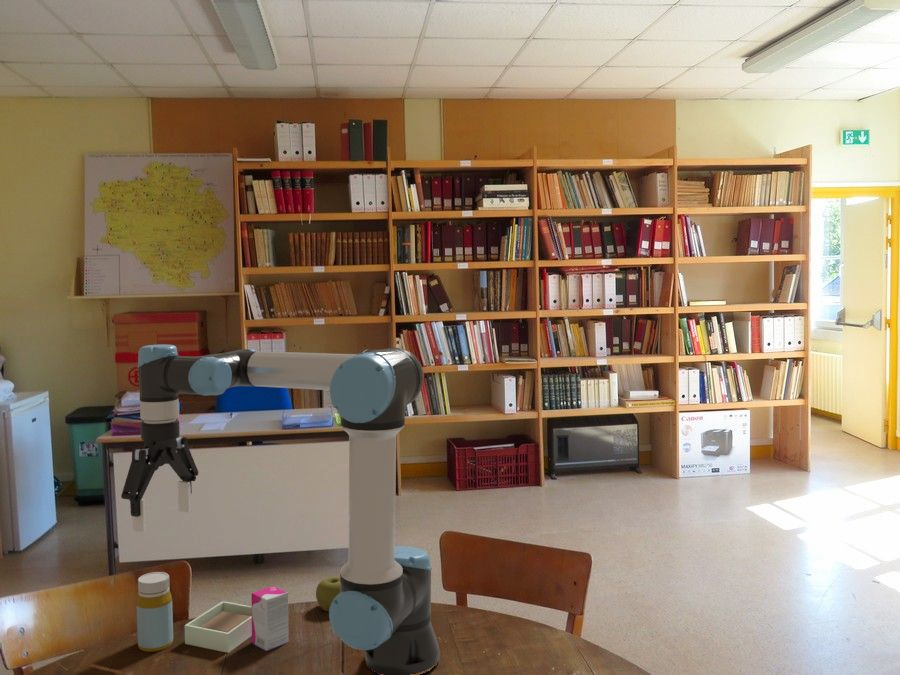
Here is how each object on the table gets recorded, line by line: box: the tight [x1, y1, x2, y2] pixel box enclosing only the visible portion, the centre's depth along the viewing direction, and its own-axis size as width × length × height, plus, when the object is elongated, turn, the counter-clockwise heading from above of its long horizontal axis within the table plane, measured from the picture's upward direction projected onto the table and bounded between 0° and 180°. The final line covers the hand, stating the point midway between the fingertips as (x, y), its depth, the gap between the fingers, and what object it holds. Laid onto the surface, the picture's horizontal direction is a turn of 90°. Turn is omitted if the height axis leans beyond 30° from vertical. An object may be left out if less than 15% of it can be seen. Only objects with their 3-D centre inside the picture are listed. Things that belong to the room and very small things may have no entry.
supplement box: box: [250, 585, 290, 652], centre depth 167 cm, size 6×6×12 cm
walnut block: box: [200, 611, 250, 633], centre depth 171 cm, size 7×8×3 cm
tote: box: [184, 600, 252, 653], centre depth 171 cm, size 11×13×4 cm
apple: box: [315, 576, 340, 613], centre depth 184 cm, size 8×8×7 cm
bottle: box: [136, 571, 174, 653], centre depth 166 cm, size 7×7×15 cm
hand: (163, 520), depth 163 cm, fingers open, 13 cm apart
